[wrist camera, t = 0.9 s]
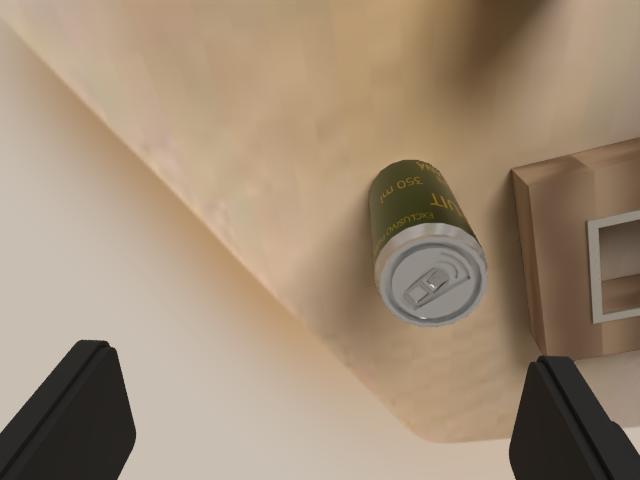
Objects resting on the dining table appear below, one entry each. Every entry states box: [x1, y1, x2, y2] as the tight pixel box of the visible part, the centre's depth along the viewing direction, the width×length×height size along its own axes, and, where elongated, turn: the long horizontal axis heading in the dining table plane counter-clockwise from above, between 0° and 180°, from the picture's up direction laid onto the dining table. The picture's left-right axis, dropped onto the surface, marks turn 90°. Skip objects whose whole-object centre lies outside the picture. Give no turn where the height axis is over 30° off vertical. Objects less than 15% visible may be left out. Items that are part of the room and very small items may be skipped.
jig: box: [511, 138, 640, 361], centre depth 31 cm, size 14×14×4 cm
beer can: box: [369, 160, 488, 327], centre depth 27 cm, size 5×5×12 cm
